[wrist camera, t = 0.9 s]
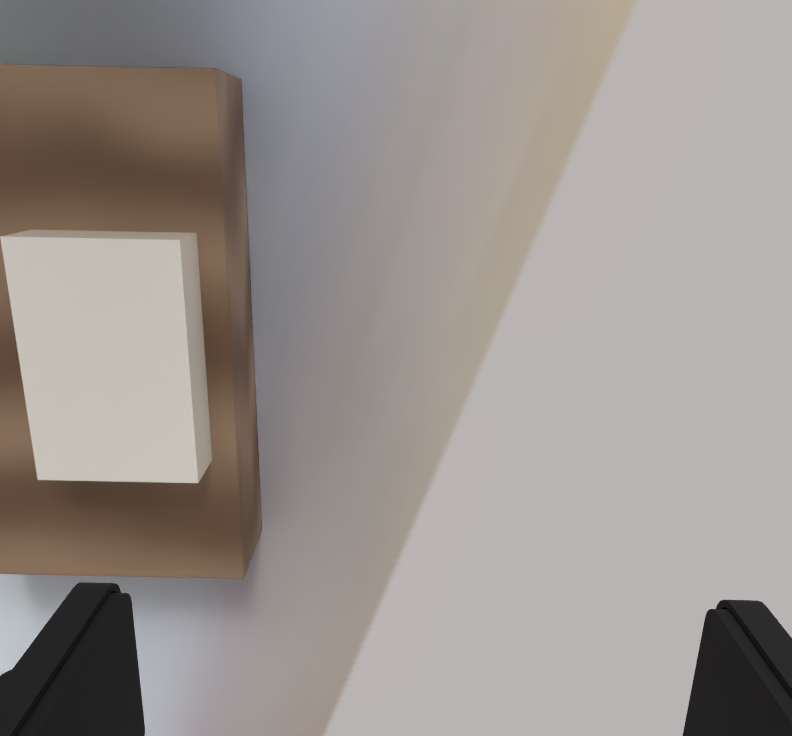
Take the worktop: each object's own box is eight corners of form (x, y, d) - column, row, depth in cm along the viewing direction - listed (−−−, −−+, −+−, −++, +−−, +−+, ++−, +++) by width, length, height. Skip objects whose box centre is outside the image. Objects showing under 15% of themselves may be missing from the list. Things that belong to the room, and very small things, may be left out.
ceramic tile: (30, 229, 25) (0, 236, 23) (196, 232, 25) (179, 240, 23) (62, 457, 28) (37, 479, 26) (212, 460, 28) (198, 483, 26)
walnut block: (-65, 73, 27) (-141, 61, 23) (241, 79, 27) (214, 68, 23) (12, 524, 33) (-39, 572, 29) (261, 529, 33) (243, 578, 29)
